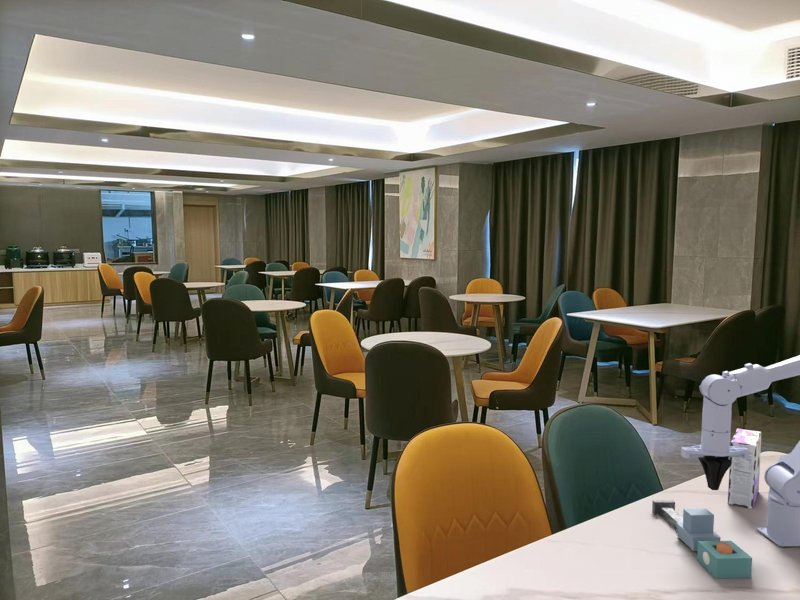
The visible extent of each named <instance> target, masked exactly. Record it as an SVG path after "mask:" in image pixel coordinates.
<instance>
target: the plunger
mask: <svg viewBox="0 0 800 600" xmlns="http://www.w3.org/2000/svg"><path fill="white" fill-rule="evenodd" d="M716 550H717V551H718V552H719V553H721V554H732V546H731V545H729V544H726V543H717V548H716Z"/></svg>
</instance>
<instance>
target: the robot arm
mask: <svg viewBox="0 0 800 600" xmlns="http://www.w3.org/2000/svg"><path fill="white" fill-rule="evenodd" d="M796 376H800V354H799V355H797V356H793V357H791V358H788V359H784V360H782V361H780V362H776V363H773V364H770V365H767V366H762V365H760V364H757V363H755V364H752V363H751V362H749V363H745V364H744V367H742V368H738V369H735V370H731V371H728V370H725V371H722V375H720V374H710V375H707V376H705V377H704V379H703V380H702V381H701V383H700V385H699V391H700V394H701V395H702V396H703V400H702V417H701V435H700V436H701V437H700V438H701V439H700V440H701V441H700V444H699V445H692V446H683V447H682V446H681V448H680V456H681V457H682V458H684V459H690V458H697V459H698V460H699V462H700V464H701V467H702V469H703V471H704V475H705V479H706V483H707V488H709V489H710V490H711V491H719V489H720V486H721V484H722V481H723V478H724V476H725V474H726V473H727V471H728V470H729V469H730V466H731V464H732V461H731V460H730V457H743V458H749V449H747V448H745V447H734V446H731V431H732V406H733V403H734V402H736V400H737V398H741V397H745V396H748V395H752V394H755V393H759V392H761V391H764V390H768V389H769V387H770V385H771V384H772V383H773V382H776V381H780V380H784V379H790V378H793V377H796ZM763 479H764V482H765V483H766V485H767V486H768V487H769V489H768V490H769V491H768V493H767V494H768V495H767V496H768V497H767V511H766V512H767V513H766V514H767V515H766V527H757V531H758V532H759V533H761V534H762V535H764V537H766V538H768V539H769V540H770V541H772V542H773V543H774V544H775V545H777V546H779V547H800V440H799V441H798V442H797V443H796V445H795V446H794V448H793V449H792V450H791V452H790V453H786V454H783V455H782V456H780V457H779V459H778V460H777V461H776V462H774V463H773V464H771V465H769V466H768V467H767V468H766V470H765V471H764V474H763Z"/></svg>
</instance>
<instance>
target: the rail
mask: <svg viewBox="0 0 800 600" xmlns="http://www.w3.org/2000/svg"><path fill="white" fill-rule="evenodd" d="M651 504H652V505H651V507H652V508H651V509H652V510H651V512H652V514H653V515H659V516H661V517H662V518H663V519H664V520H665V522H667V523H669V525H670V526H672V527H673V528H674V529H675V530H676V531H677V527H676V523H683V516H681V515H680V514H679V513H678V512H677V511H676V502H675V500H673V499H665V500H664V499H657V500H656V499H654V500H652V503H651Z"/></svg>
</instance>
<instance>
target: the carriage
mask: <svg viewBox="0 0 800 600" xmlns="http://www.w3.org/2000/svg"><path fill="white" fill-rule="evenodd" d="M682 513H683V515H682V517H683V523H676V527H677V530H676V536H677V537H678V538H679V539H680V540H681V541H682V542H683V543H685V545H687V547H688V548H690V549H691V551H693V552H698V541H721V536H720V535H719V534H717V533H716V532H715V531H714V527H715V526H714V525H715V514H714V513H712V512H711V511H710V510H709V509H707V508H683V512H682Z"/></svg>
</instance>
